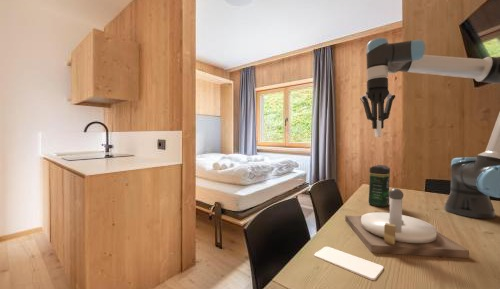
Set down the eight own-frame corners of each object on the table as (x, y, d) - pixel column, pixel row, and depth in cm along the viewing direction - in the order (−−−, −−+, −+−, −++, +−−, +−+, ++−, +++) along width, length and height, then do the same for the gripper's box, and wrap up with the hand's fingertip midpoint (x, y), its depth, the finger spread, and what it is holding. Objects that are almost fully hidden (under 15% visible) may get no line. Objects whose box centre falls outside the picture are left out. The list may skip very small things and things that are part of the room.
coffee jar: (385, 208, 101) (386, 166, 100) (366, 204, 106) (367, 165, 106) (391, 204, 108) (392, 165, 107) (373, 200, 113) (373, 163, 113)
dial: (365, 214, 86) (365, 176, 86) (432, 225, 75) (433, 182, 75) (356, 232, 70) (356, 186, 69) (440, 250, 58) (442, 195, 58)
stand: (413, 223, 83) (414, 204, 83) (468, 258, 59) (469, 231, 59) (345, 220, 86) (345, 202, 86) (371, 252, 62) (371, 227, 62)
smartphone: (326, 245, 65) (384, 266, 55) (326, 248, 65) (384, 269, 55) (312, 254, 60) (374, 279, 49) (312, 257, 60) (374, 282, 50)
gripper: (389, 80, 96) (390, 136, 96) (357, 82, 97) (358, 137, 97) (399, 75, 88) (399, 136, 88) (364, 77, 90) (364, 137, 90)
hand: (378, 136), depth 93 cm, fingers closed
